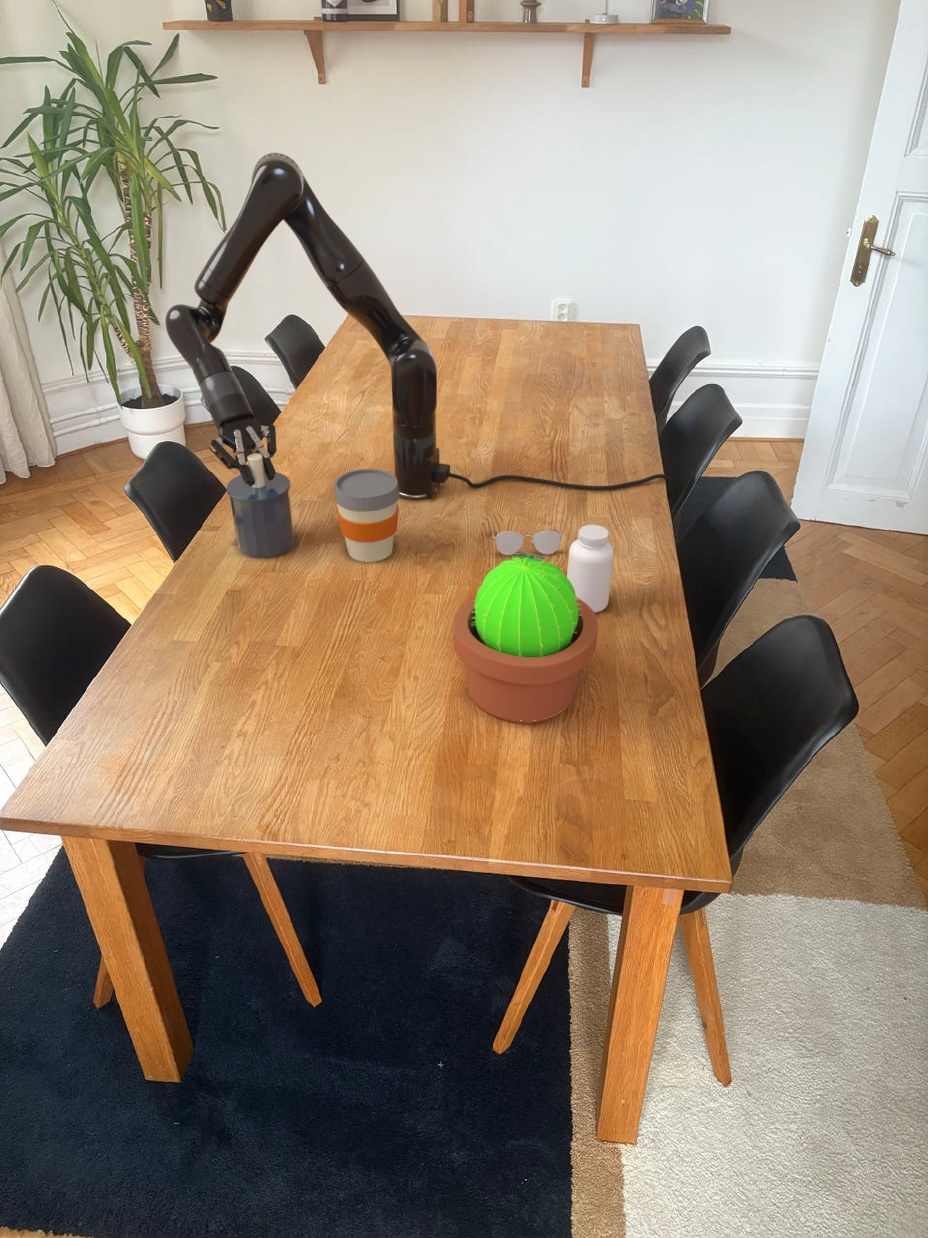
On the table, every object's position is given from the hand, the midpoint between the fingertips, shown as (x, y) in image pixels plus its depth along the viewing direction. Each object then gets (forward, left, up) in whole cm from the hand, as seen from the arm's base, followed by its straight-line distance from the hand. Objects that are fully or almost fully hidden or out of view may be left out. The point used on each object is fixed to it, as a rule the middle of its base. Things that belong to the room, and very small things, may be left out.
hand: (262, 481), depth 182 cm
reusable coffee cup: (-19, -5, -15) cm, 25 cm away
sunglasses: (-48, -17, -15) cm, 53 cm away
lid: (+2, -1, -2) cm, 3 cm away
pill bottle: (-64, 0, -15) cm, 66 cm away
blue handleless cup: (+2, -1, -15) cm, 15 cm away
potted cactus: (-59, +28, -15) cm, 67 cm away
